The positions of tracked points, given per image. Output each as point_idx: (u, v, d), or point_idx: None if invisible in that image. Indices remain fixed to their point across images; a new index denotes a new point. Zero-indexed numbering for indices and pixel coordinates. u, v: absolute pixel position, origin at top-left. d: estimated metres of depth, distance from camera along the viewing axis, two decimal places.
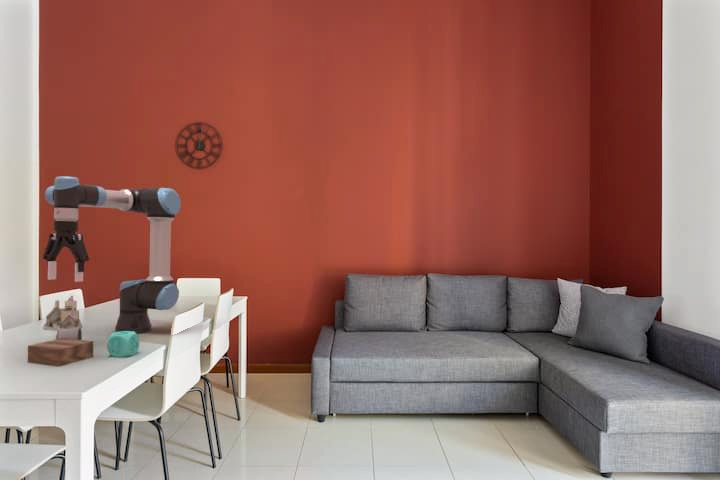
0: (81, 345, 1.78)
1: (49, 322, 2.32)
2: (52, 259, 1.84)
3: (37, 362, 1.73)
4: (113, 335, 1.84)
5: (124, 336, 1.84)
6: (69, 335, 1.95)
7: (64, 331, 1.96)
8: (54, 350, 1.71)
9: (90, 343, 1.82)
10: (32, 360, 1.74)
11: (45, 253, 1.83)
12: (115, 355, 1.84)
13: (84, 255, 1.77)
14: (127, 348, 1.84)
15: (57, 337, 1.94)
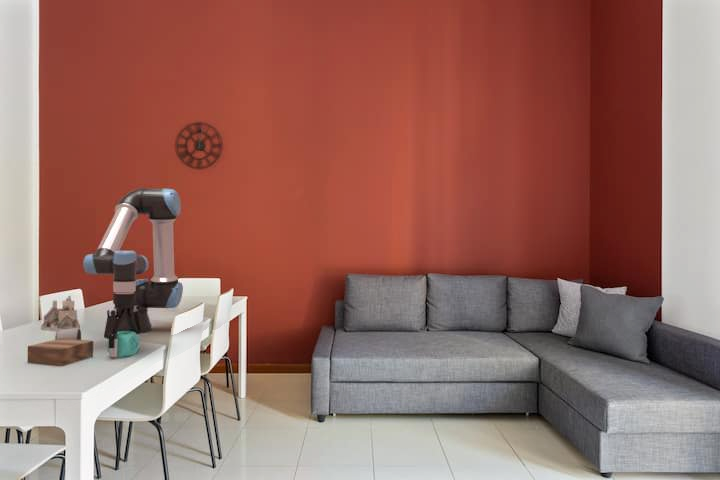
0: (82, 345, 1.79)
1: (47, 322, 2.31)
2: None
3: (38, 362, 1.73)
4: None
5: (124, 336, 1.84)
6: (68, 336, 1.94)
7: (63, 332, 1.95)
8: (56, 350, 1.71)
9: (90, 343, 1.83)
10: (32, 360, 1.73)
11: None
12: None
13: (106, 332, 1.80)
14: (127, 348, 1.83)
15: (56, 338, 1.93)
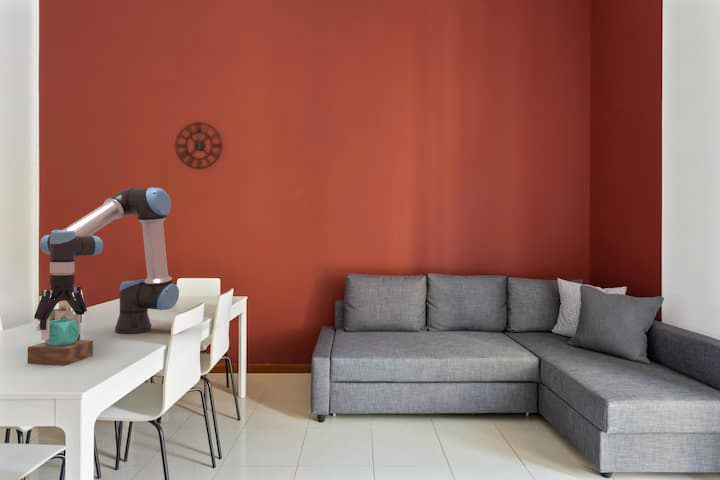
0: (83, 345, 1.80)
1: None
2: (78, 312, 1.85)
3: (39, 363, 1.72)
4: None
5: (61, 324, 1.75)
6: None
7: None
8: (58, 350, 1.71)
9: (90, 342, 1.83)
10: (33, 361, 1.73)
11: None
12: (51, 344, 1.75)
13: (37, 313, 1.70)
14: (64, 337, 1.74)
15: None
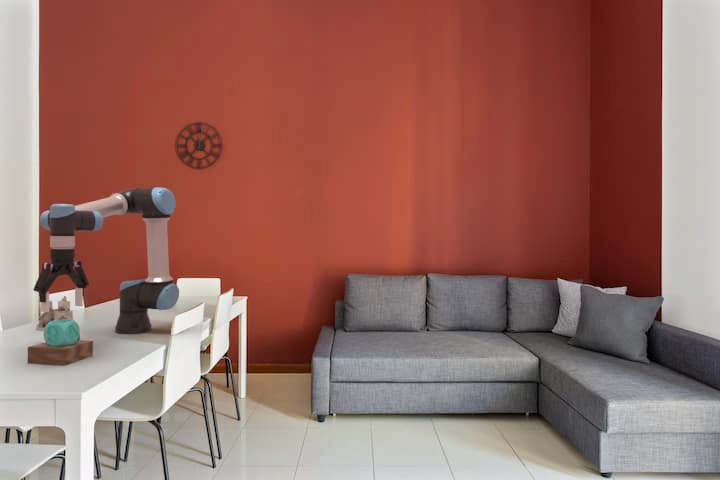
0: (83, 345, 1.80)
1: (42, 323, 2.30)
2: (80, 286, 1.85)
3: (39, 363, 1.72)
4: (50, 323, 1.75)
5: (61, 324, 1.75)
6: None
7: None
8: (58, 350, 1.71)
9: (90, 343, 1.84)
10: (33, 361, 1.73)
11: None
12: (52, 344, 1.75)
13: (37, 285, 1.70)
14: (64, 337, 1.74)
15: None
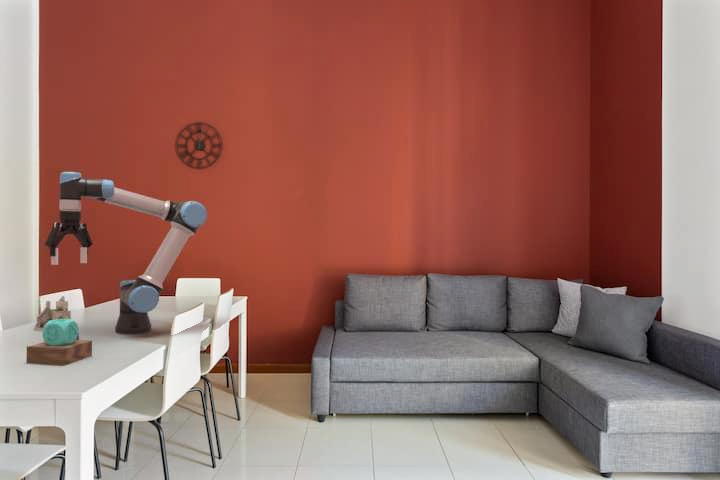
0: (82, 345, 1.80)
1: (40, 323, 2.29)
2: (85, 245, 2.11)
3: (37, 363, 1.73)
4: (49, 323, 1.76)
5: (61, 324, 1.75)
6: None
7: None
8: (57, 350, 1.71)
9: (89, 342, 1.83)
10: (32, 361, 1.73)
11: None
12: (51, 343, 1.75)
13: (48, 241, 1.96)
14: (64, 336, 1.75)
15: None
